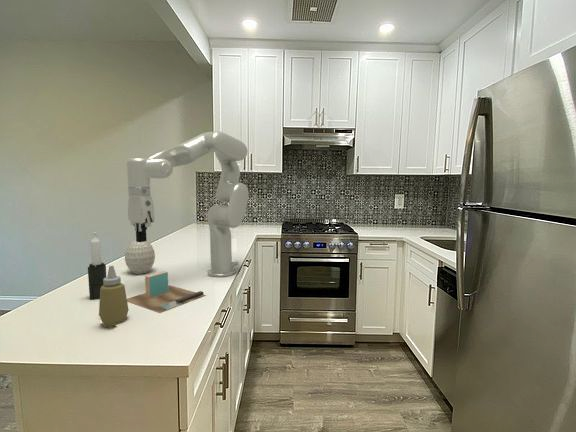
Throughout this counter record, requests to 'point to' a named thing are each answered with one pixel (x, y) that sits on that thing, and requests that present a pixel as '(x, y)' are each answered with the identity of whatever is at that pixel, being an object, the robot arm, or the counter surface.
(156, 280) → the tile
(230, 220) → the robot arm
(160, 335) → the counter surface
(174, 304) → the turner
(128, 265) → the vase
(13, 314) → the counter surface
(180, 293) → the board
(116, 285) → the squeeze bottle
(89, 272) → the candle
